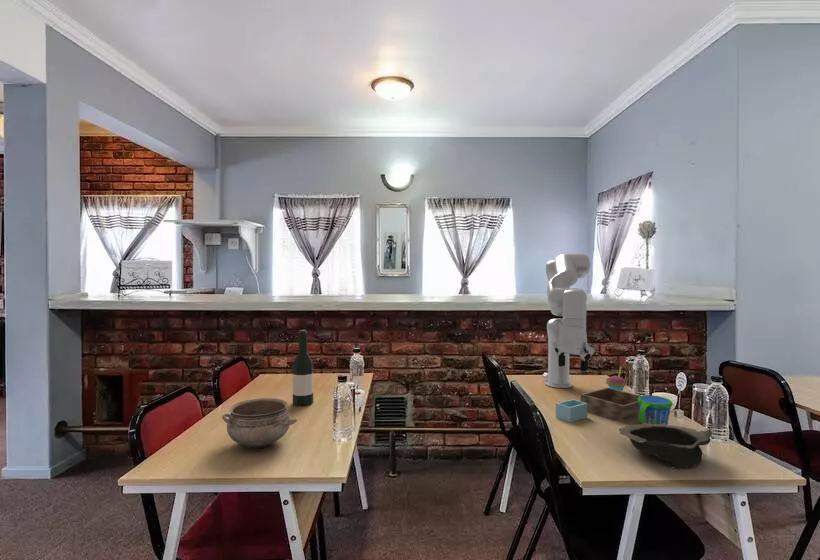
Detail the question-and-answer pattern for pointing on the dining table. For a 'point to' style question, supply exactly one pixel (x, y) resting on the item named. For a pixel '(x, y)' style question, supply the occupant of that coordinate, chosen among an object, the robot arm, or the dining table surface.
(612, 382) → the cupcake
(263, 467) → the dining table surface
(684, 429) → the stone bowl
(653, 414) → the snack cup
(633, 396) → the big crate
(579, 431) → the dining table surface
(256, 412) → the cooking pot
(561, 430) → the dining table surface
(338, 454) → the dining table surface
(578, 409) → the small crate
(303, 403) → the wine bottle
